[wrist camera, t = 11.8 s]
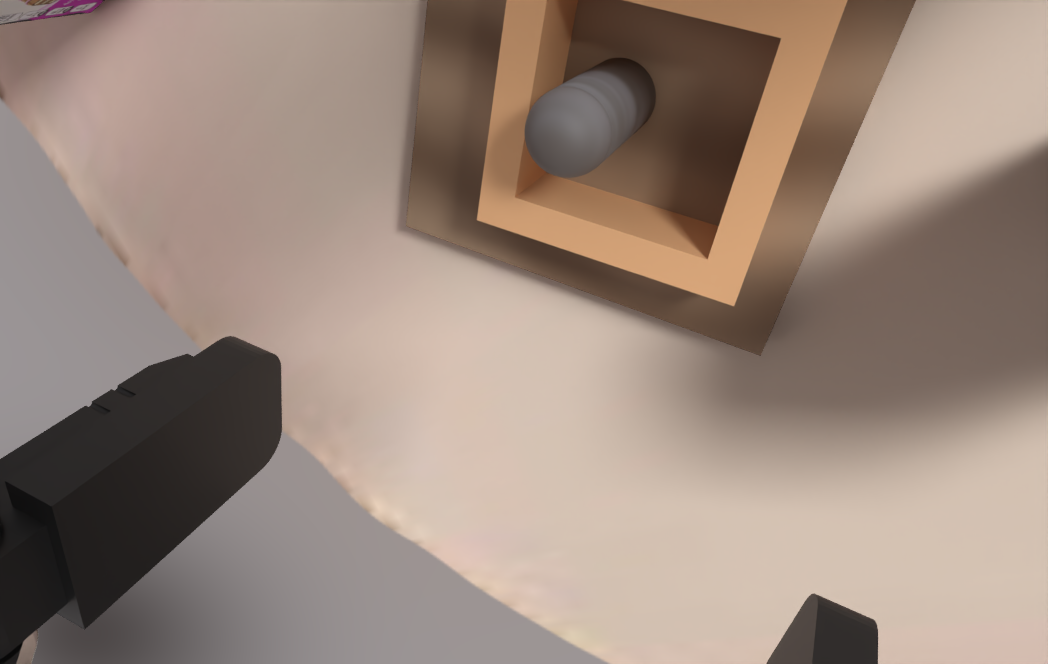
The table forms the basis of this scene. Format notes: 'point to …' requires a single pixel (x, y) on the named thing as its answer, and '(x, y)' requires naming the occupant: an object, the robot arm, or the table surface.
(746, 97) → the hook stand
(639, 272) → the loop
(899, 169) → the table surface
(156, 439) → the robot arm
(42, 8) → the candy bar box
